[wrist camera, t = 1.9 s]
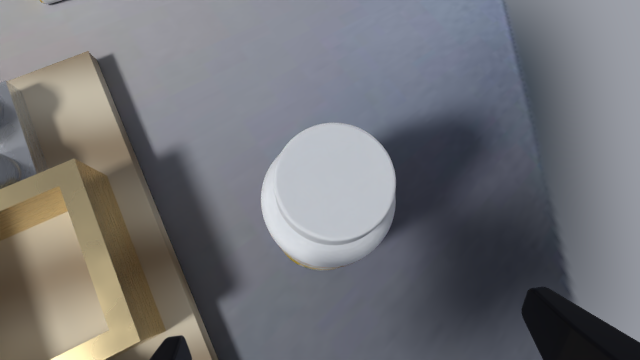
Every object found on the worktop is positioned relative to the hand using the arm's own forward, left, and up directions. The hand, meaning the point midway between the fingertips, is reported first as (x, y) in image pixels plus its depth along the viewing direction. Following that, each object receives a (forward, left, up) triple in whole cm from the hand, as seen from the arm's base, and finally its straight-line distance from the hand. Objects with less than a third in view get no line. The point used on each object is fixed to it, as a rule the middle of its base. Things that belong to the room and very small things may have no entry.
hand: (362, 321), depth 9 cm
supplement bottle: (+4, -1, -11) cm, 12 cm away
